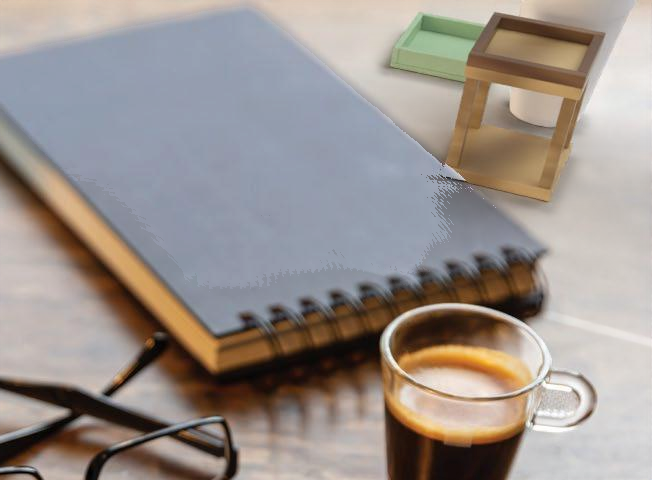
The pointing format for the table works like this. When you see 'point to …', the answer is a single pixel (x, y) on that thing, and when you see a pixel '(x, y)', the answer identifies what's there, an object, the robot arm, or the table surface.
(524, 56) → the stand
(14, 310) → the table surface
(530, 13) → the foam cup
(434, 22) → the tray
